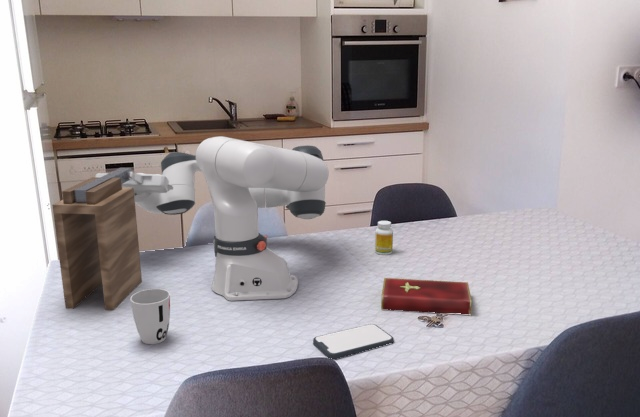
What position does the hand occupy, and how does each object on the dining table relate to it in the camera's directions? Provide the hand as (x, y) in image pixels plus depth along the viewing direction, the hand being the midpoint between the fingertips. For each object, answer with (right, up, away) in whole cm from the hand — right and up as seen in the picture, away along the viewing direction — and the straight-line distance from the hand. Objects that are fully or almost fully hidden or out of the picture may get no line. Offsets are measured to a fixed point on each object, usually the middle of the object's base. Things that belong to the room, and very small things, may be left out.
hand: (121, 174), depth 160 cm
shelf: (-1, -31, -8) cm, 32 cm away
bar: (-1, -4, -9) cm, 10 cm away
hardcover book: (+79, -33, -13) cm, 87 cm away
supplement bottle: (+73, -23, +22) cm, 80 cm away
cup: (+17, -38, -31) cm, 52 cm away
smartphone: (+61, -39, -32) cm, 79 cm away
